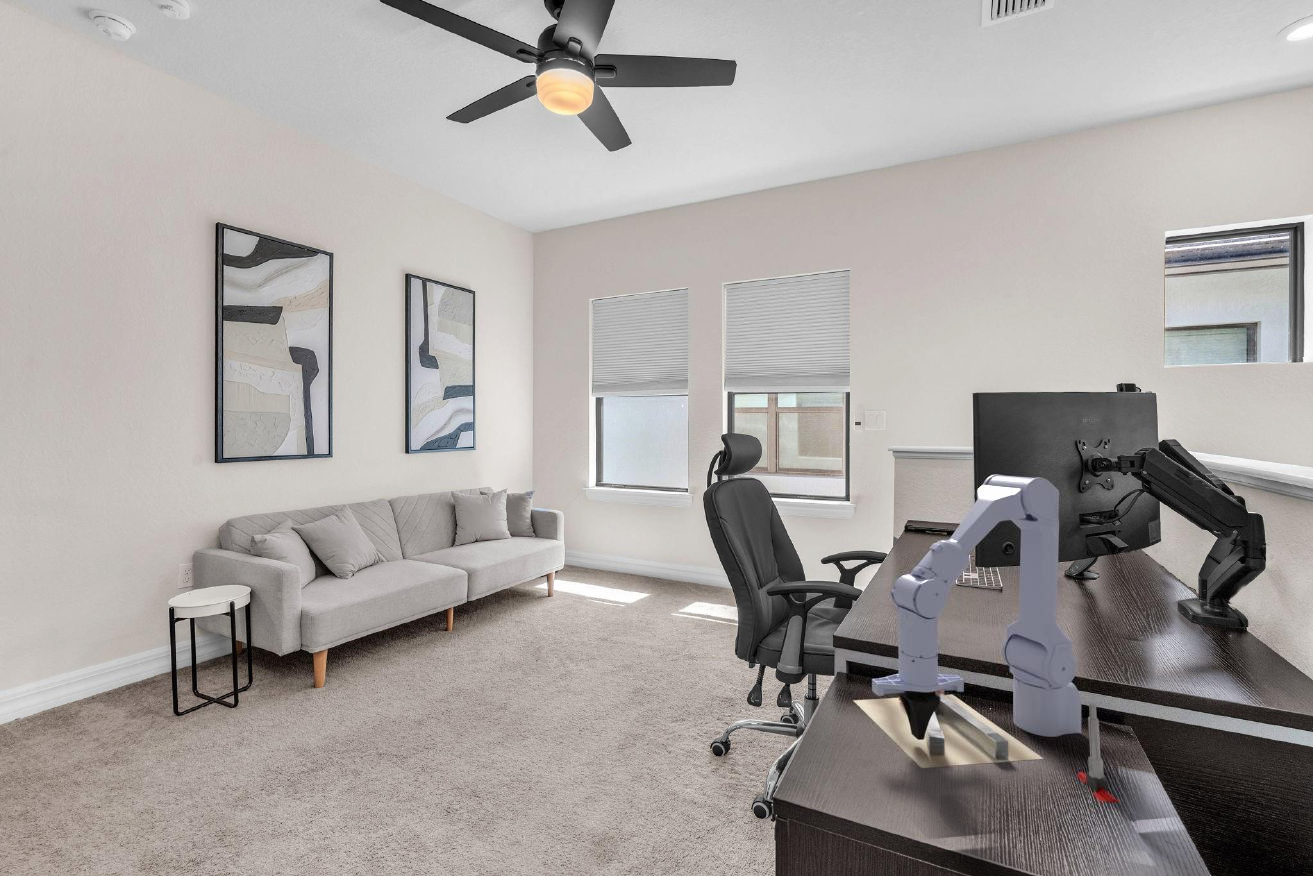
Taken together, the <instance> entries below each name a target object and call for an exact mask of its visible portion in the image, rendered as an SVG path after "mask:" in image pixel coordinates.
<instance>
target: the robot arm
mask: <svg viewBox="0 0 1313 876" xmlns="http://www.w3.org/2000/svg"><path fill="white" fill-rule="evenodd" d="M976 498H977V500H976V501H975V503H974V504H973V506H972V507H971V508H970V510H969V511H968V513H966V515H965V517H964V518H963V519H962V521H961V522H960V524H959V525H958V527H956V529H955V531H954V532H953V534H952V535H951V536H950V538H948V539H946V540H945V539H943V540H942V539H941V540H938V541H937V542H935V543H934V542H933V543H932V544H931V546H930V547H929V551H928V552H927V553H926V554H925V555H924V557H923V558H922V559H921V561H920V562H919V563H918V564H917V565H915V567H913V569H912V571H911V572H910V573H906V574H904V575H901V576H900V577H899V578H897V580H896V581H895V582H894V584H893V587H892V590H890V591H889V595H890V599H891V602H892V603H893V604H894V605H895V608H896V616H897V617H898V673H896V674H892V675H887V676H885V677H879V678H872V679H871V691H872V692H873V694H875V695H877V697H883V696H885V695H888V694H897V696H898V698H899V697H900V699H901V701H902V703H903V706H904V708H905V711H906V713H907V716H908V720H909V724H910V728H911V733H912V735H913V736H914V737H915V738H917V739H918V740H924V737H925V733H926V730H927V726H928V724H929V721H930V719H931V716H932V715H933V713H934V711H935V710H936V708H937V707H938V706H939V705H940V697H939V696H937V695H936V694H935V691H944V692H945V691H956V692H960V693H962V692H964V691H965V690H964V689H965V687H964V686H965V684H964V683H965V682H964V679H963V677H960V676H959V675H957V674H942V673H938V672H939V671H938V666H939V665H938V664H939V663H938V658H939V654H938V649H939V648H938V647H939V645H938V643H939V642H938V641H939V639H938V638H939V637H938V636H939V635H938V632H939V631H938V629H939V627H938V623H939V622H938V617H939V616H940V615H941V614H942V613H943V612H944V611H945V609H946V607H947V605H948V596H949V595H950V594H951V587H953V585H954V584H955V583H956V581H957V580H958V579H959V577H961V575H962V574H963V573H964V572H965V570H967V568H968V567H969V566H970V563H971V561H970V555H969V554H970V552H971V551H972V550H973V549H974V548H975V547H976V546H977V545H978V544H979V543H980V542H981V541H982V540H983V539H984V538H985V537H986V536H987V535H989V533H990V531H992V530H993V529H994V528H995V527H996V526H997V525H998V524H999V523H1000V522H1004V521H1005V522H1006V521H1011V522H1012V523H1014V524H1015V526H1016V527H1018V528H1019V529H1020V556H1019V557H1020V559H1019V560H1020V561H1019V563H1020V564H1019V565H1020V566H1019V593H1018V595H1019V596H1018V597H1019V599H1018V600H1019V601H1018V602H1019V603H1018V619H1017V620H1016V621H1014V622H1012V623H1010V624H1008V625H1007V626H1006V633H1005V639H1004V641H1003V643H1002V646H1001V656H1002V659H1003V661H1004V663H1005V664H1006V665H1007V666H1009V673H1011V674H1012V675H1013V677H1012V678H1013V680H1012V681H1013V682H1012V683H1013V685H1012V686H1013V691H1012V693H1013V698H1012V699H1013V704H1012V706H1013V708H1012V709H1013V711H1012V713H1013V714H1012V715H1013V720H1012V722H1013V725H1015V726H1017V728H1019V729H1020V730H1022V731H1024V732H1027V733H1030V734H1033V735H1036V736H1040V737H1041V736H1042V737H1060V736H1062V735H1068V734H1080V735H1081V734H1082V699H1081V695H1080V692H1079V690H1078V688H1077V687H1076V685H1075V684H1074V683H1073V682H1072V681H1073V680H1074V678H1075V676H1076V673H1077V661H1076V657H1075V656H1074V652H1073V641H1072V640H1071V639H1070V637H1069V636H1068V635H1067V634H1066V633H1065V632H1064V631H1063V630H1062V629H1061V628H1060V627H1059V625H1057V623H1058V622H1057V619H1058V616H1057V615H1058V582H1059V581H1058V577H1059V547H1060V546H1059V541H1060V538H1059V535H1060V518H1059V509H1060V508H1059V507H1060V504H1059V503H1060V490H1059V489H1058V488H1057V487H1055V486H1054V485H1053V483H1052V482H1050V481H1049V480H1048V479H1046V478H1044V477H1039V476H1038V477H1027V476H1014V475H1003V474H998V473H996V474H991V475H990V476H988V477H987V478H986V479H985V480H984V482H983V483H982V485H981V486H979V488H977V490H976Z"/></svg>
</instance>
